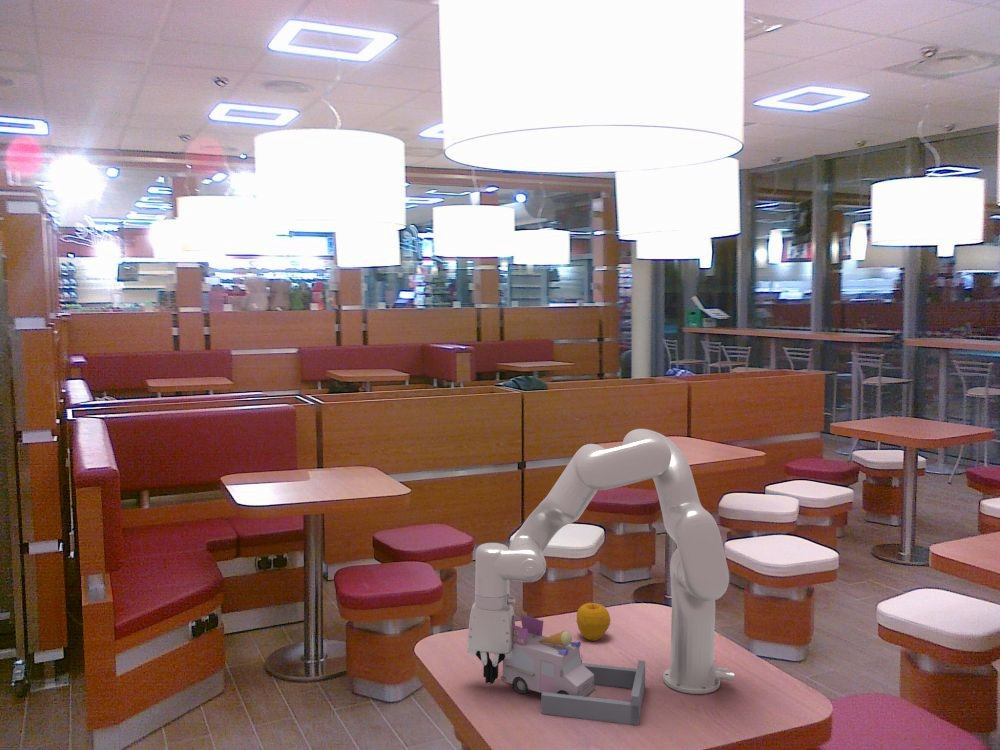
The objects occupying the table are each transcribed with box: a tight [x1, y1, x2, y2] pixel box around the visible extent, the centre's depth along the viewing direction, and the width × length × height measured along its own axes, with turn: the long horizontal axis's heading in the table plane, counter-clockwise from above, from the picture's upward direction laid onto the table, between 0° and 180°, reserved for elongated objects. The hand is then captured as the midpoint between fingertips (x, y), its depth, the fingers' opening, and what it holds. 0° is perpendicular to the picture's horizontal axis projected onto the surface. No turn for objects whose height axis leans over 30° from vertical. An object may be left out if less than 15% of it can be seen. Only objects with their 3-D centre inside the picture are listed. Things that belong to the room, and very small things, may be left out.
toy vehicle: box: [500, 614, 596, 697], centre depth 190 cm, size 9×20×15 cm, turn 55°
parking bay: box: [540, 660, 646, 726], centre depth 188 cm, size 20×18×6 cm
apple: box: [576, 602, 611, 642], centre depth 222 cm, size 9×8×9 cm
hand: (490, 680), depth 193 cm, fingers closed
